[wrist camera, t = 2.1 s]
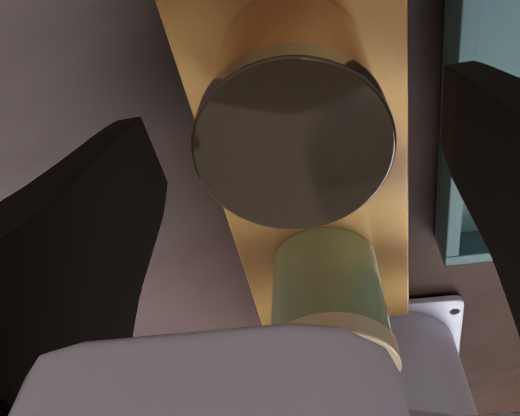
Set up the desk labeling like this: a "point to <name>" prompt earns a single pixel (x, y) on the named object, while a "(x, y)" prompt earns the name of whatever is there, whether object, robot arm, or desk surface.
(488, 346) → the desk surface
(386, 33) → the flat wooden board
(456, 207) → the tray
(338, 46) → the amber jar
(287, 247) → the green jar
